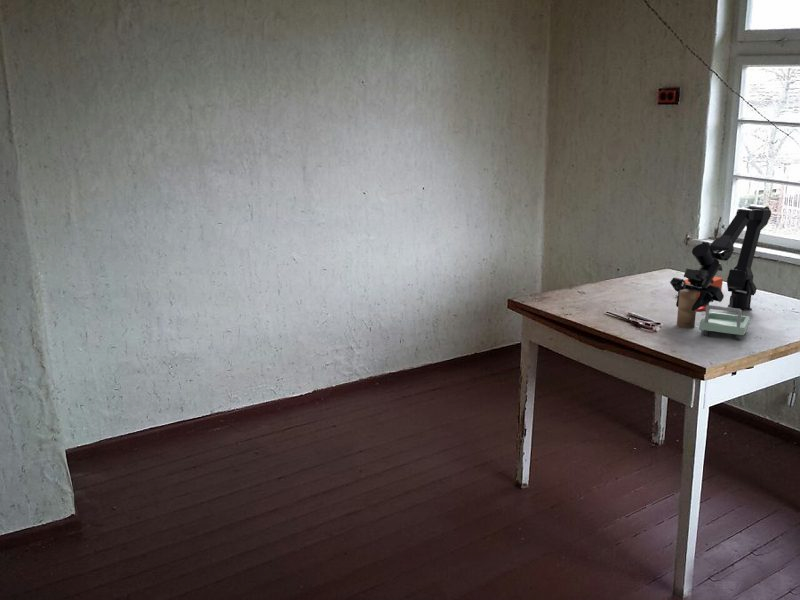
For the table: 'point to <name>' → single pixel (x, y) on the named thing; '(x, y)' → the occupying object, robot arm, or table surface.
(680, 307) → the brown cylinder
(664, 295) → the table surface
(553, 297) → the table surface
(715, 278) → the brick
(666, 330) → the table surface
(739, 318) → the parts cart
